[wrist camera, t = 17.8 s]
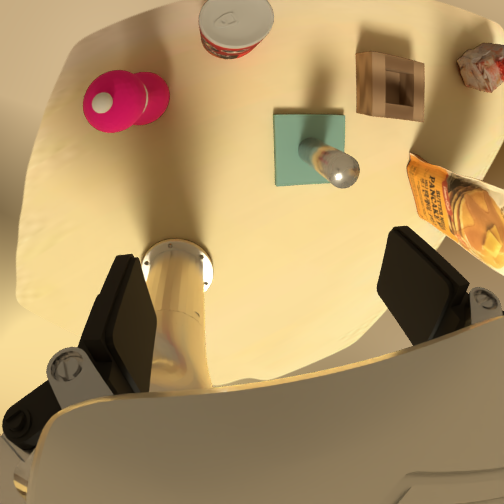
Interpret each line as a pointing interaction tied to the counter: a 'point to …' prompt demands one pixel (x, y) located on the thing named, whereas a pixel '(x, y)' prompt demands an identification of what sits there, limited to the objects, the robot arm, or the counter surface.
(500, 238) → the pancake mix bag
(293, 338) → the counter surface
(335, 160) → the steel pin
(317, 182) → the mat
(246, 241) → the counter surface
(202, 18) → the canned food
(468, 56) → the food item
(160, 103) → the pepper mill
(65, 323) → the counter surface
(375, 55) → the socket block
